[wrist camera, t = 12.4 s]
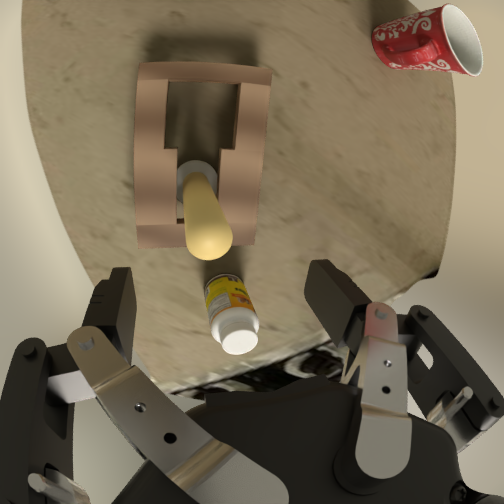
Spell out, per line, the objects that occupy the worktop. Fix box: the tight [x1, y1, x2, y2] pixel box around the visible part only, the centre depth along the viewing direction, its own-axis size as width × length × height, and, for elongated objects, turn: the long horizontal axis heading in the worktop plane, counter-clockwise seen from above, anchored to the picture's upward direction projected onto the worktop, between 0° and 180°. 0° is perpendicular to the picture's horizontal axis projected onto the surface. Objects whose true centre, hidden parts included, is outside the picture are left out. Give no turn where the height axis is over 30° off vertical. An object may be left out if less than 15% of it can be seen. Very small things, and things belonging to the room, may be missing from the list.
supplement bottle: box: [204, 274, 259, 355], centre depth 32 cm, size 6×6×10 cm
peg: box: [177, 160, 233, 260], centre depth 22 cm, size 5×5×15 cm
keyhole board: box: [134, 61, 273, 249], centre depth 25 cm, size 18×12×5 cm, turn 174°
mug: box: [372, 4, 483, 77], centre depth 19 cm, size 13×9×14 cm
